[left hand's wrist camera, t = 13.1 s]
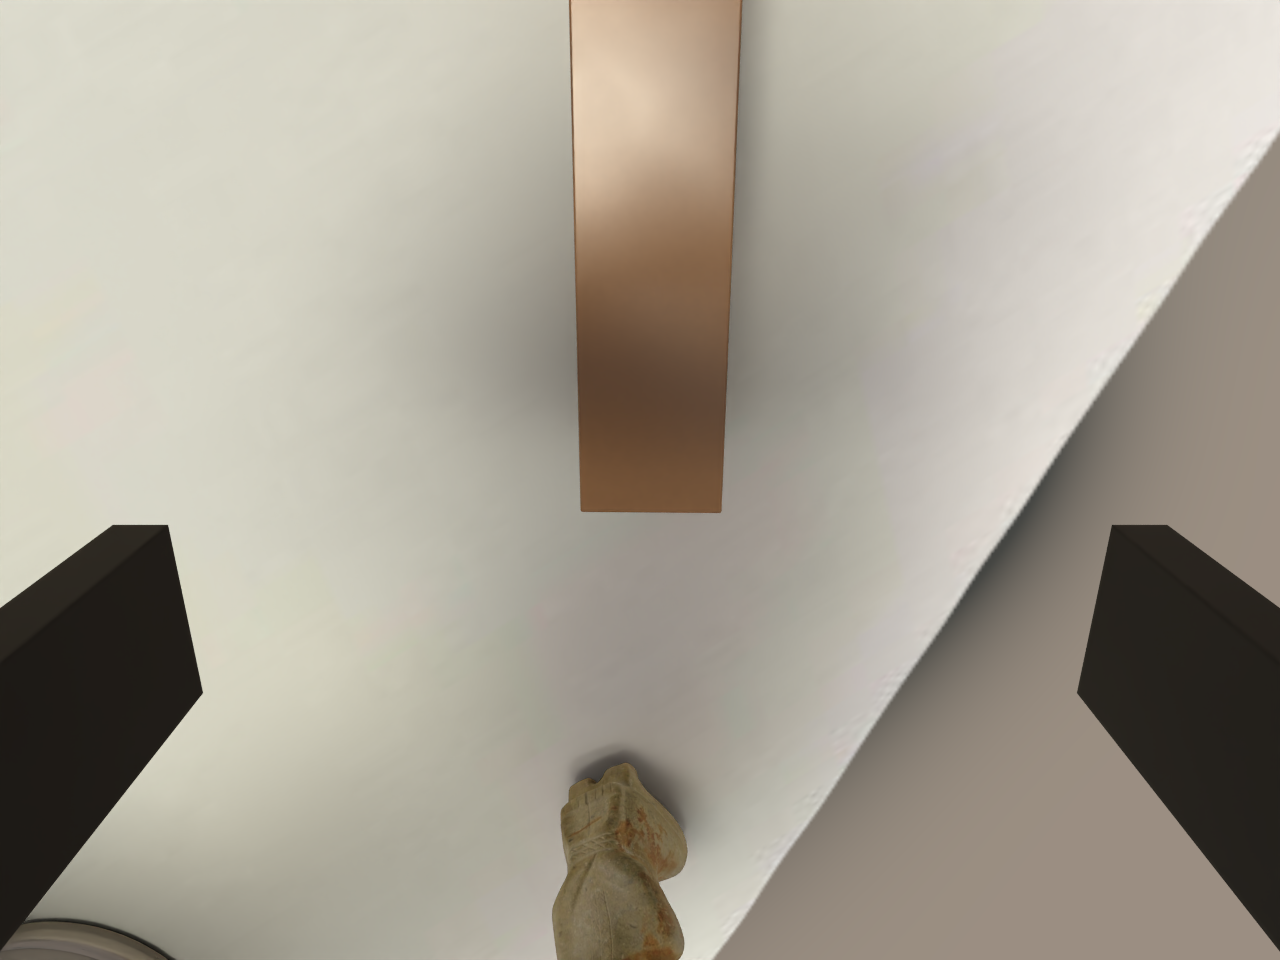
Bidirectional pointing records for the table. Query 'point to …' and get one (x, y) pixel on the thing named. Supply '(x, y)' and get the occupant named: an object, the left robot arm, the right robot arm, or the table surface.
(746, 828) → the table surface
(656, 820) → the sculpture
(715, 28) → the beam
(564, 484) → the table surface
